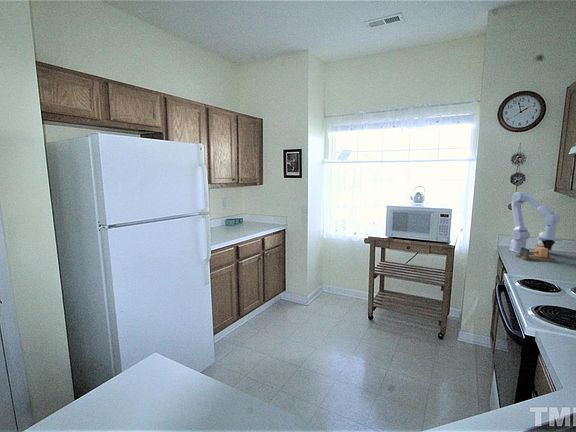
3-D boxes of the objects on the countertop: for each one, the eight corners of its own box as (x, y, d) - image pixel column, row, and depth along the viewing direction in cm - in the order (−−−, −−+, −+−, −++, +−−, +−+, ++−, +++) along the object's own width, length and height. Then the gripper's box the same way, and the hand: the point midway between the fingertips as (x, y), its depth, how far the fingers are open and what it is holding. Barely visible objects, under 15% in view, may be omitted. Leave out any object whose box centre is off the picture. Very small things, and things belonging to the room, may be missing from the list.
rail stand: (515, 256, 217) (517, 246, 216) (543, 257, 216) (545, 247, 215) (526, 260, 207) (527, 250, 206) (555, 261, 206) (557, 251, 205)
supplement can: (553, 254, 224) (557, 234, 221) (542, 254, 224) (545, 233, 221) (544, 251, 232) (548, 231, 229) (533, 250, 232) (536, 231, 229)
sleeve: (534, 254, 214) (535, 246, 213) (540, 255, 214) (542, 246, 213) (540, 257, 209) (541, 248, 208) (546, 257, 208) (548, 248, 207)
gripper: (543, 232, 204) (540, 252, 207) (566, 233, 204) (562, 252, 206) (535, 230, 211) (532, 249, 214) (557, 230, 211) (554, 249, 213)
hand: (546, 250), depth 210 cm, fingers closed
